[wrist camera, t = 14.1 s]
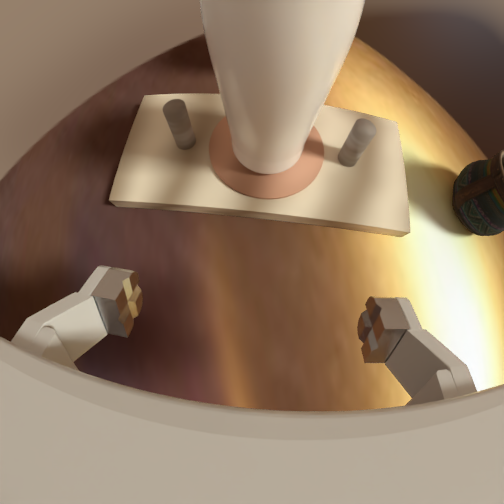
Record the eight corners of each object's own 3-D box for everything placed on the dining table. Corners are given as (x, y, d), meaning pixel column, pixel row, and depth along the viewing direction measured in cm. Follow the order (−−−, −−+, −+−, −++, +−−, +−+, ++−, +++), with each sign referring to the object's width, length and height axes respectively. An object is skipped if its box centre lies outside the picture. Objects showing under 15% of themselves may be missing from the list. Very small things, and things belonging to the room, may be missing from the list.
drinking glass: (209, 131, 21) (175, -41, 6) (284, 105, 22) (308, -55, 7) (245, 200, 20) (238, 2, 5) (326, 167, 20) (406, -2, 6)
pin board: (116, 206, 22) (81, 176, 16) (148, 104, 24) (130, 63, 18) (401, 237, 21) (442, 215, 15) (390, 130, 23) (416, 93, 18)
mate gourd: (453, 245, 21) (528, 211, 11) (434, 171, 23) (492, 117, 13) (495, 241, 21) (560, 212, 12) (477, 175, 23) (531, 133, 13)
